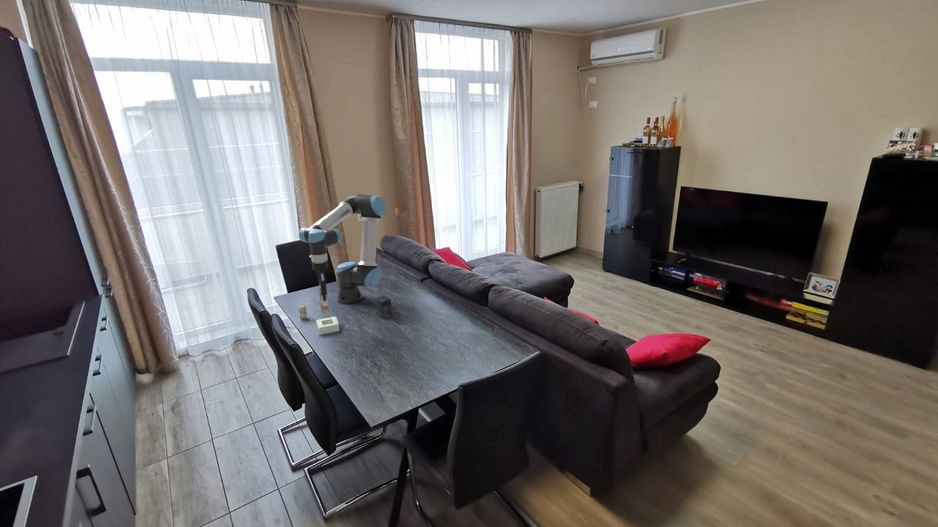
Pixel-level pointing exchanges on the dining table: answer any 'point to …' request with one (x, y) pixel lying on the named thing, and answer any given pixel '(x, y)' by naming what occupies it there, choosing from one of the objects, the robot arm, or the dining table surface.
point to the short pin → (303, 312)
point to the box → (383, 307)
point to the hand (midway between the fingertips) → (324, 304)
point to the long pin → (323, 309)
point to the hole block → (327, 325)
